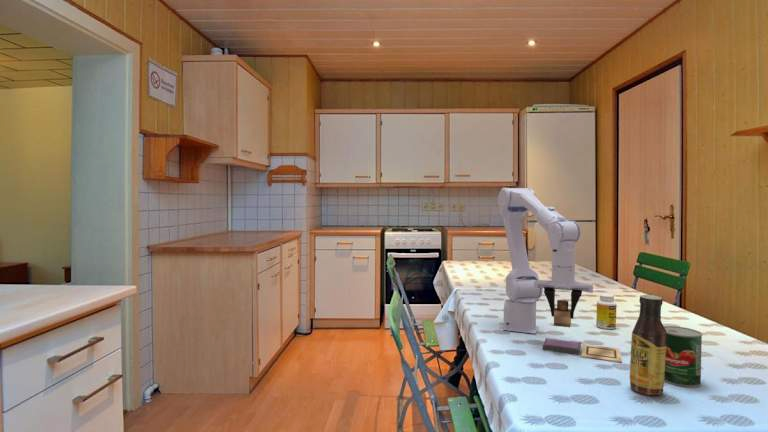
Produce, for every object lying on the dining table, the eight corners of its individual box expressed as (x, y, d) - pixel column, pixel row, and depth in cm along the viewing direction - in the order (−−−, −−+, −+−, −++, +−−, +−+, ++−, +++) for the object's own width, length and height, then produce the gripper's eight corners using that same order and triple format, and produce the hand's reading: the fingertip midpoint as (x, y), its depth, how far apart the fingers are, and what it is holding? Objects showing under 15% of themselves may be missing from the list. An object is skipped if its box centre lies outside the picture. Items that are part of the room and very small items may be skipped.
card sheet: (581, 357, 115) (581, 355, 115) (582, 345, 124) (582, 343, 124) (621, 362, 111) (621, 361, 111) (619, 349, 121) (619, 348, 121)
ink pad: (542, 349, 120) (542, 344, 120) (545, 342, 127) (545, 337, 127) (579, 354, 117) (579, 349, 117) (580, 346, 123) (580, 341, 123)
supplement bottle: (609, 330, 138) (610, 297, 138) (592, 326, 143) (593, 294, 143) (619, 328, 141) (620, 295, 141) (602, 324, 146) (603, 292, 146)
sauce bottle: (623, 385, 97) (624, 293, 96) (650, 384, 98) (652, 292, 97) (642, 398, 91) (645, 299, 90) (672, 397, 91) (674, 299, 90)
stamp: (553, 325, 121) (554, 301, 121) (555, 322, 124) (555, 298, 124) (570, 327, 119) (570, 303, 119) (570, 323, 123) (571, 300, 122)
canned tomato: (694, 376, 103) (695, 327, 102) (706, 389, 95) (707, 337, 95) (654, 371, 105) (655, 324, 105) (663, 384, 98) (664, 333, 97)
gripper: (532, 266, 120) (532, 317, 121) (592, 270, 114) (592, 323, 115) (536, 263, 127) (535, 311, 127) (593, 266, 121) (592, 317, 121)
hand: (562, 316), depth 121 cm, fingers closed on stamp, 4 cm apart
